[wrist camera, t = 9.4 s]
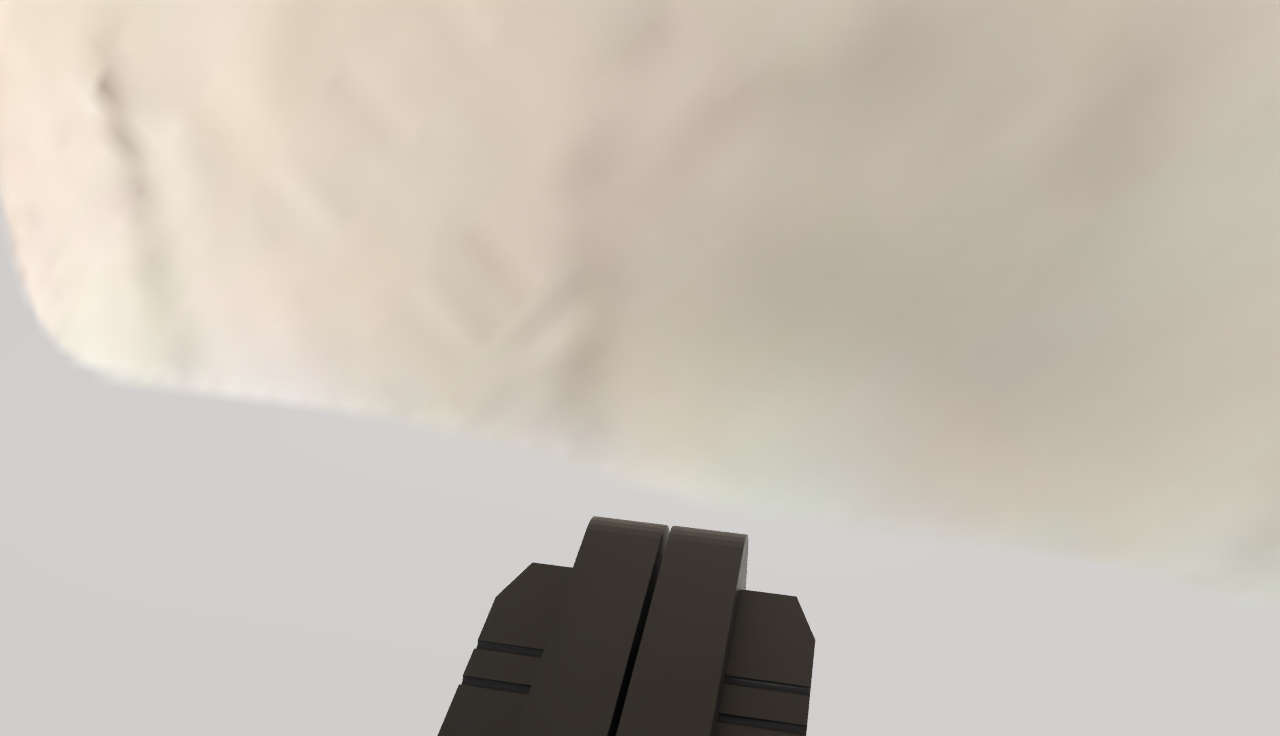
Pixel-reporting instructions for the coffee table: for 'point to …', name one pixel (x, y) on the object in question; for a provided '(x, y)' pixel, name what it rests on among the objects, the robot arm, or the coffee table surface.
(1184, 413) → the coffee table surface
